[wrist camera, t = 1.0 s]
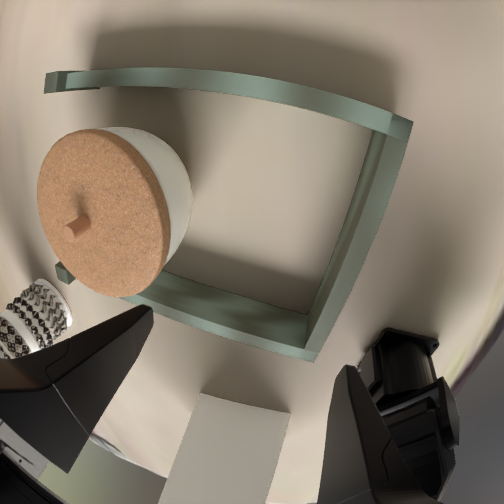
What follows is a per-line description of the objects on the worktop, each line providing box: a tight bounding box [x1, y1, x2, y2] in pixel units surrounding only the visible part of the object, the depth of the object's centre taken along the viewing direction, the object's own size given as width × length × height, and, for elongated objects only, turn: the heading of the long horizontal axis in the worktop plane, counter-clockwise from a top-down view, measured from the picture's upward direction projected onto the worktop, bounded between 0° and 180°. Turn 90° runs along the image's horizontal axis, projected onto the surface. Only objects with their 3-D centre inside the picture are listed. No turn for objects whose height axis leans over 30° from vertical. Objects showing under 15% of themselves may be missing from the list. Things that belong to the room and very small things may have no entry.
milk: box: [158, 393, 291, 504], centre depth 24 cm, size 12×12×26 cm
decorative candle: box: [0, 279, 73, 359], centre depth 23 cm, size 9×9×25 cm
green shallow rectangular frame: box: [44, 67, 413, 363], centre depth 19 cm, size 24×18×5 cm
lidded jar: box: [37, 127, 192, 297], centre depth 17 cm, size 11×11×9 cm
